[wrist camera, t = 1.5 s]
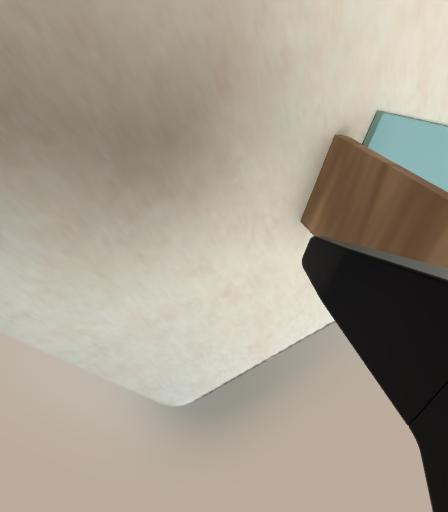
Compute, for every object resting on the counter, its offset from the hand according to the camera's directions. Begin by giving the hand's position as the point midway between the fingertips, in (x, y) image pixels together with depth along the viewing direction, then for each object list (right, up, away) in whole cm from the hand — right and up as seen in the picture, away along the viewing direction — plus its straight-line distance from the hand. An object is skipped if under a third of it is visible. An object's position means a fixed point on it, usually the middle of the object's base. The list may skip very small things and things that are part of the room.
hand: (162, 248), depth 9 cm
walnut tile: (+9, +5, +17) cm, 20 cm away
